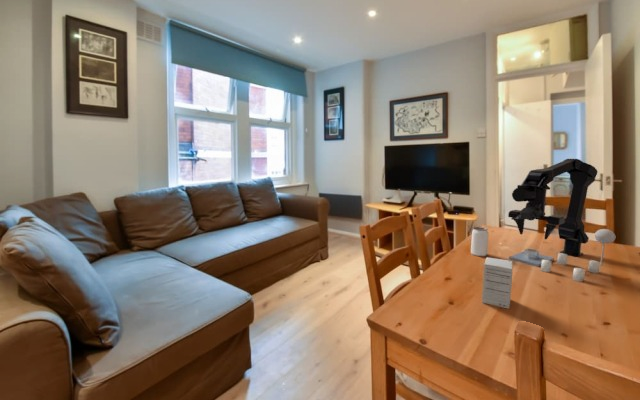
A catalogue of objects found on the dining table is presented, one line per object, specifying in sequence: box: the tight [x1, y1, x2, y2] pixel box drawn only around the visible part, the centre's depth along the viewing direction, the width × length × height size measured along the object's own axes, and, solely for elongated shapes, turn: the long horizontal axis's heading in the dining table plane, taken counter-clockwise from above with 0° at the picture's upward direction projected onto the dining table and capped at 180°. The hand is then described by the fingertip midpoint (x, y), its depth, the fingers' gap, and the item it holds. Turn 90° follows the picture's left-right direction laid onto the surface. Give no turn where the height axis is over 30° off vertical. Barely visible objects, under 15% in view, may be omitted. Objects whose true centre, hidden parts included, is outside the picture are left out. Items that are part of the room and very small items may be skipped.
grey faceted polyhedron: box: [523, 248, 540, 259], centre depth 125 cm, size 5×4×3 cm
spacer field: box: [540, 252, 601, 283], centre depth 112 cm, size 17×13×4 cm
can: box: [470, 226, 489, 257], centre depth 132 cm, size 6×6×12 cm
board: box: [508, 251, 555, 267], centre depth 125 cm, size 14×11×1 cm
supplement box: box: [481, 257, 514, 309], centre depth 90 cm, size 7×7×13 cm
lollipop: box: [593, 228, 616, 266], centre depth 117 cm, size 6×6×15 cm
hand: (533, 236), depth 124 cm, fingers open, 9 cm apart
